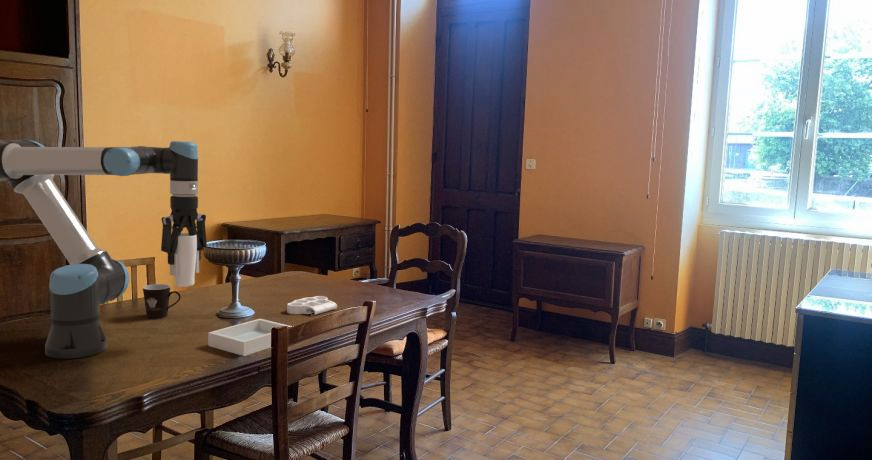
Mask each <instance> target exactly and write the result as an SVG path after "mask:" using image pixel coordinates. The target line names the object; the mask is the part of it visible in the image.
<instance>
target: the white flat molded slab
mask: <svg viewBox="0 0 872 460" xmlns="http://www.w3.org/2000/svg"><path fill="white" fill-rule="evenodd" d="M286 307H287V308H286V313H288V314H289V315H301V314H304V315H305V314H306V315H308V314H311V313H314V315H313V316H316V315H319V314H323V313H326V312H330V311H333V310H336V309H337V308H338V304H337V303H336V302H334V301H332V300H329V298H328V297H327V296H324V295H316V296H311V297H302V298H299V299H295V300H293V301H291V302H288V303H287V304H286Z"/></svg>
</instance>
